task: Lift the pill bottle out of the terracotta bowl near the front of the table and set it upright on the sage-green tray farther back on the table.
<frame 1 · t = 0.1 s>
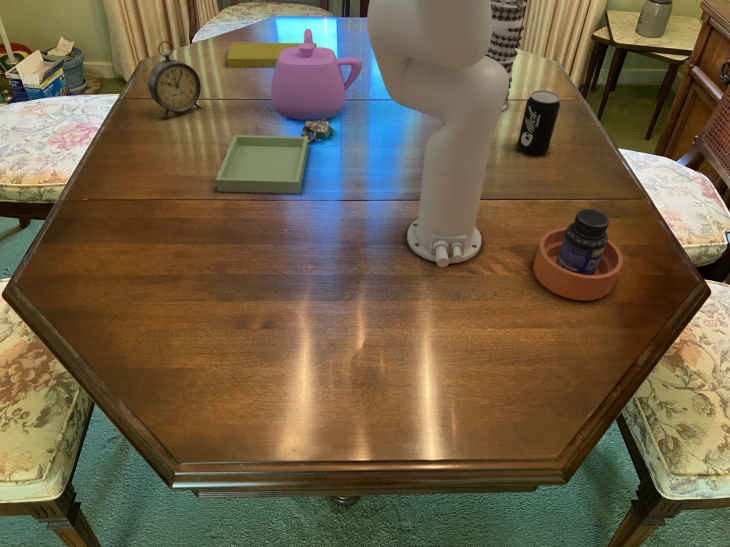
teapot: (309, 108, 132), on the table
bowl: (572, 275, 88), on the table
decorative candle: (489, 105, 136), on the table
flat olive board: (273, 59, 155), on the table
beverage can: (531, 150, 119), on the table
ornament: (316, 137, 122), on the table
pill bottle: (572, 274, 88), resting on bowl
alarm clock: (179, 112, 129), on the table
tray: (265, 168, 111), on the table
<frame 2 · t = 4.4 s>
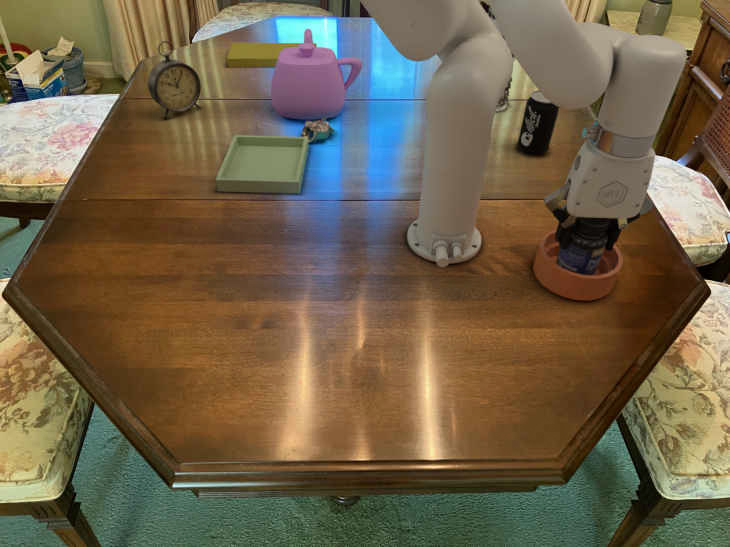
hand: (583, 243, 84), 7 cm above the table, tool pointing down, fingers closed on pill bottle, 6 cm apart
pill bottle: (572, 274, 88), resting on bowl, touching gripper
everything else where it was.
when the fingers open (7 cm above the table, at t = 17.3 s): pill bottle stays where it is, resting on tray.
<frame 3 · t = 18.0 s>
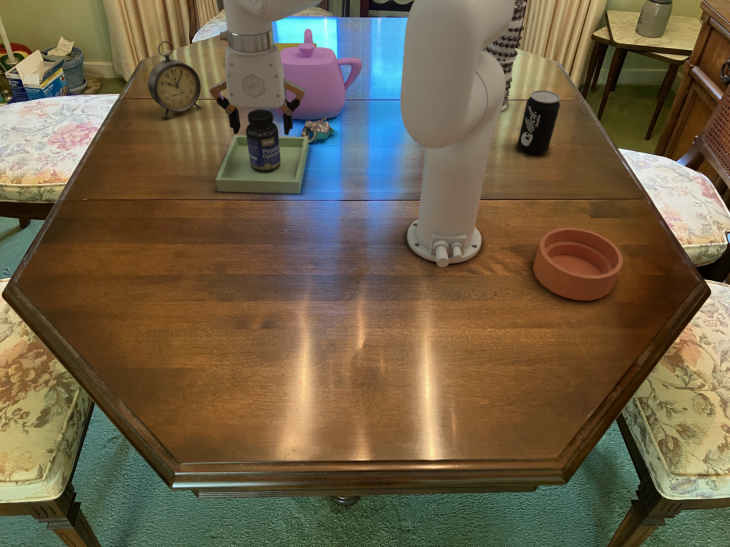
hand: (262, 131, 105), 8 cm above the table, tool pointing down, fingers open, 9 cm apart
pill bottle: (265, 166, 111), resting on tray
everything else where it was.
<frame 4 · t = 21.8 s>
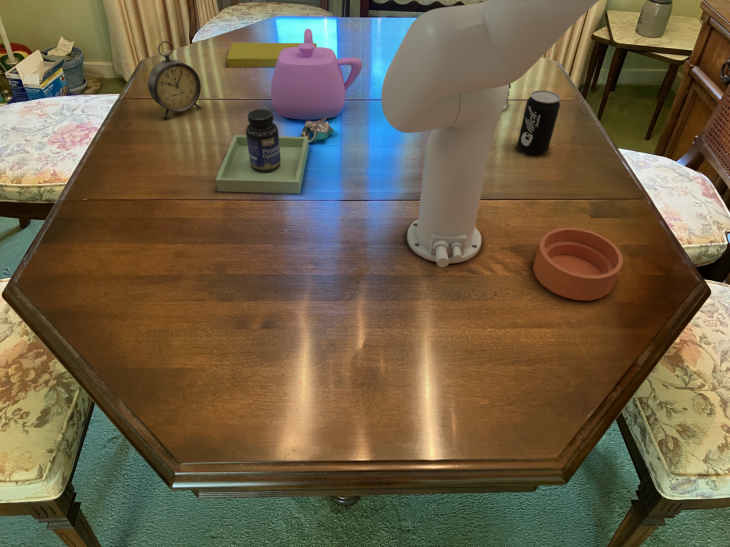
nothing on the table moved.
at the end: pill bottle inside the target area in the tray (0.1 cm from its centre), point 0.4 cm above the tray's base; pill bottle tilted 0°; the gripper is holding nothing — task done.
